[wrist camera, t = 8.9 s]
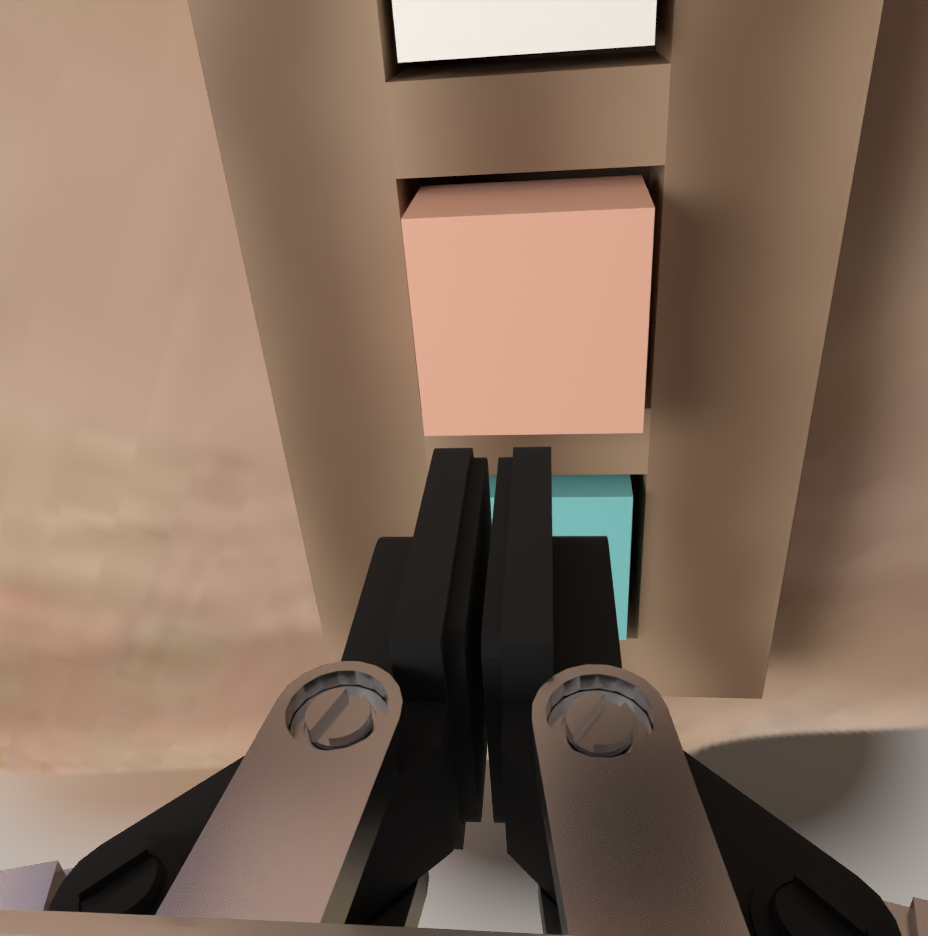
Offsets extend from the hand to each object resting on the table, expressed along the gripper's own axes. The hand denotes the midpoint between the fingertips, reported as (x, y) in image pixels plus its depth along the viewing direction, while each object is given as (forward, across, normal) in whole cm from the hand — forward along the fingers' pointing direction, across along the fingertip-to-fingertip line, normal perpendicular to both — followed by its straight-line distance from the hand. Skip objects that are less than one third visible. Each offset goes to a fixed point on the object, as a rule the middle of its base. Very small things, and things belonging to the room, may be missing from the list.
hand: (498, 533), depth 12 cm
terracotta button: (+10, 0, 0) cm, 10 cm away
